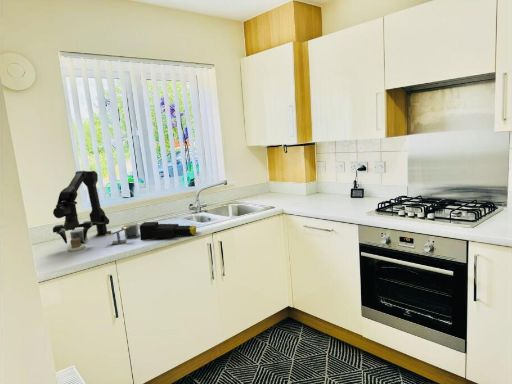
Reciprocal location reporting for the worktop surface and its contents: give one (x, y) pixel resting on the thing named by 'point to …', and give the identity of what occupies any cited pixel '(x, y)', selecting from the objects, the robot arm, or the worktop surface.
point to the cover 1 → (78, 234)
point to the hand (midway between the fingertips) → (75, 242)
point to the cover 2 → (131, 230)
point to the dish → (77, 248)
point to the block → (75, 243)
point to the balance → (117, 236)
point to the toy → (164, 230)
